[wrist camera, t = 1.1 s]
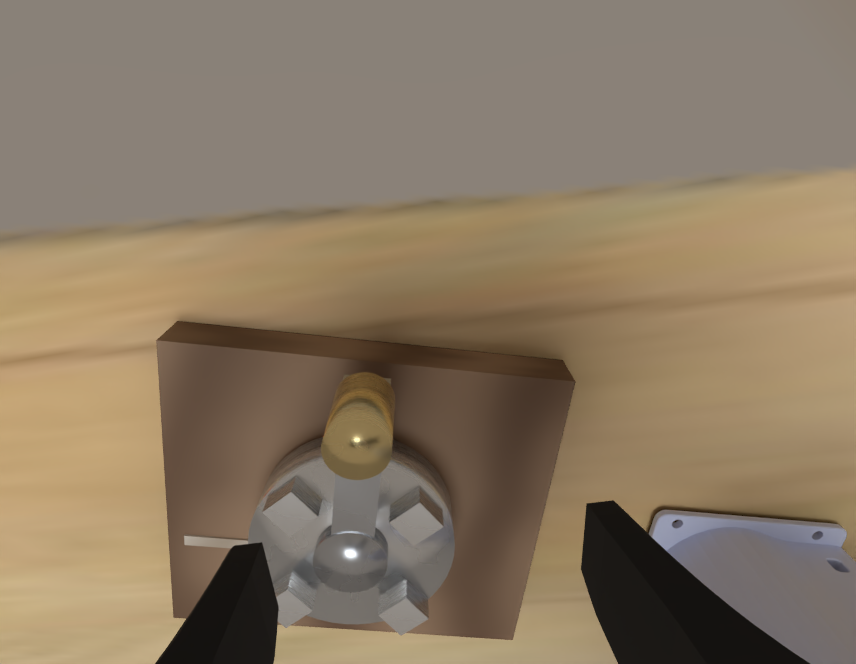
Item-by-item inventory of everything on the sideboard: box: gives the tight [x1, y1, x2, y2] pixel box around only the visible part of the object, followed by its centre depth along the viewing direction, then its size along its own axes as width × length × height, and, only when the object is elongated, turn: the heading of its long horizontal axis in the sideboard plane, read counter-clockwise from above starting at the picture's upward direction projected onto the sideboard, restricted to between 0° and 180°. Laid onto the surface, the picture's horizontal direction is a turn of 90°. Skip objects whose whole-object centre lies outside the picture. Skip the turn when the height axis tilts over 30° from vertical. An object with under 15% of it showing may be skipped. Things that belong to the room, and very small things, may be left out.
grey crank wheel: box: [248, 372, 455, 635], centre depth 20 cm, size 12×8×6 cm, turn 173°
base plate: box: [156, 321, 575, 640], centre depth 25 cm, size 16×14×2 cm
